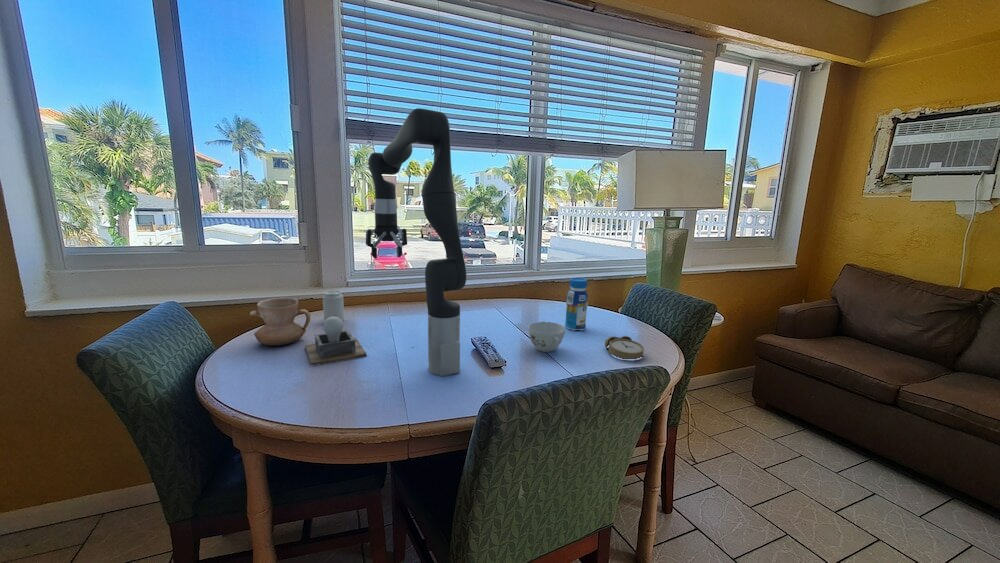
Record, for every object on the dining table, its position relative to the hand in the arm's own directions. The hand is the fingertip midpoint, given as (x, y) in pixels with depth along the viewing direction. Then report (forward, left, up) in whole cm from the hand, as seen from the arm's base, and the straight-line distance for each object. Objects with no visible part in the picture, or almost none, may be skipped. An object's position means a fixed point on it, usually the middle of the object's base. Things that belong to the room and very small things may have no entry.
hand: (387, 257), depth 145 cm
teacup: (-42, -42, -28) cm, 66 cm away
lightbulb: (-12, +21, -27) cm, 37 cm away
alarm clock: (-55, -64, -29) cm, 89 cm away
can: (+22, +16, -28) cm, 39 cm away
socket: (-12, +21, -28) cm, 37 cm away
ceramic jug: (+6, +35, -28) cm, 45 cm away
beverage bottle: (-28, -67, -28) cm, 78 cm away
